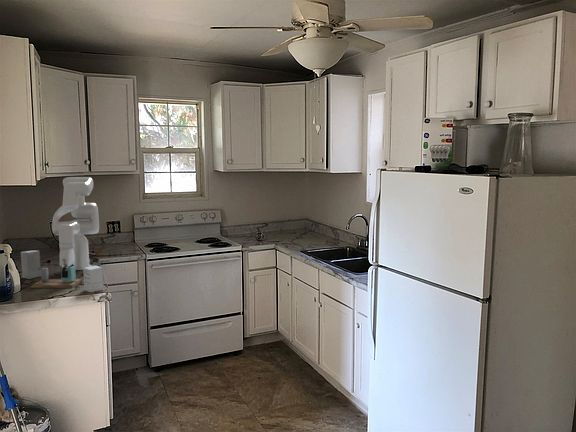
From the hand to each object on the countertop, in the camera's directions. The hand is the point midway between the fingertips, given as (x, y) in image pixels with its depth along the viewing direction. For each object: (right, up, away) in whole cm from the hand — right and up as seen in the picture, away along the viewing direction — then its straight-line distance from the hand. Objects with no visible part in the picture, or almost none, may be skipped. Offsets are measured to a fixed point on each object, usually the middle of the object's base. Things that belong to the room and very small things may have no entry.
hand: (68, 275), depth 266 cm
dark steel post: (-13, -4, -1) cm, 13 cm away
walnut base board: (-6, -5, 0) cm, 8 cm away
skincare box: (-30, -3, +17) cm, 34 cm away
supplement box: (+19, -7, -11) cm, 23 cm away
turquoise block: (0, -3, 0) cm, 3 cm away
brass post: (0, -4, 0) cm, 4 cm away
